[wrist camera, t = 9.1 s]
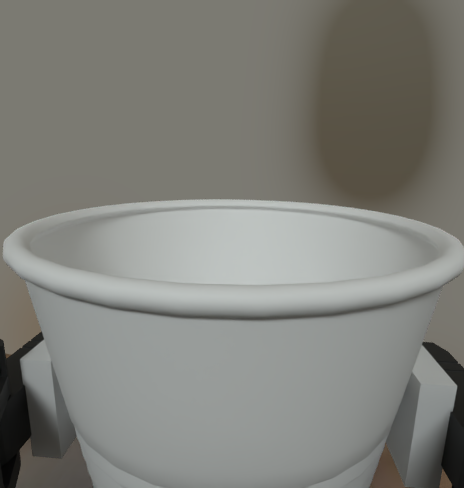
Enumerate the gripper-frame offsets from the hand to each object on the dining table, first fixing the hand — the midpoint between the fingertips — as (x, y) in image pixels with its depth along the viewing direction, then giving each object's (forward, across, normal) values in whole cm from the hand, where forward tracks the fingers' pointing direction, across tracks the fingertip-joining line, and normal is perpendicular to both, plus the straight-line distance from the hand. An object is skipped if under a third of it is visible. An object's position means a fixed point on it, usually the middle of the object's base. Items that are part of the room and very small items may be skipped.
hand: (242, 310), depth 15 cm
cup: (-5, 0, -7) cm, 8 cm away
